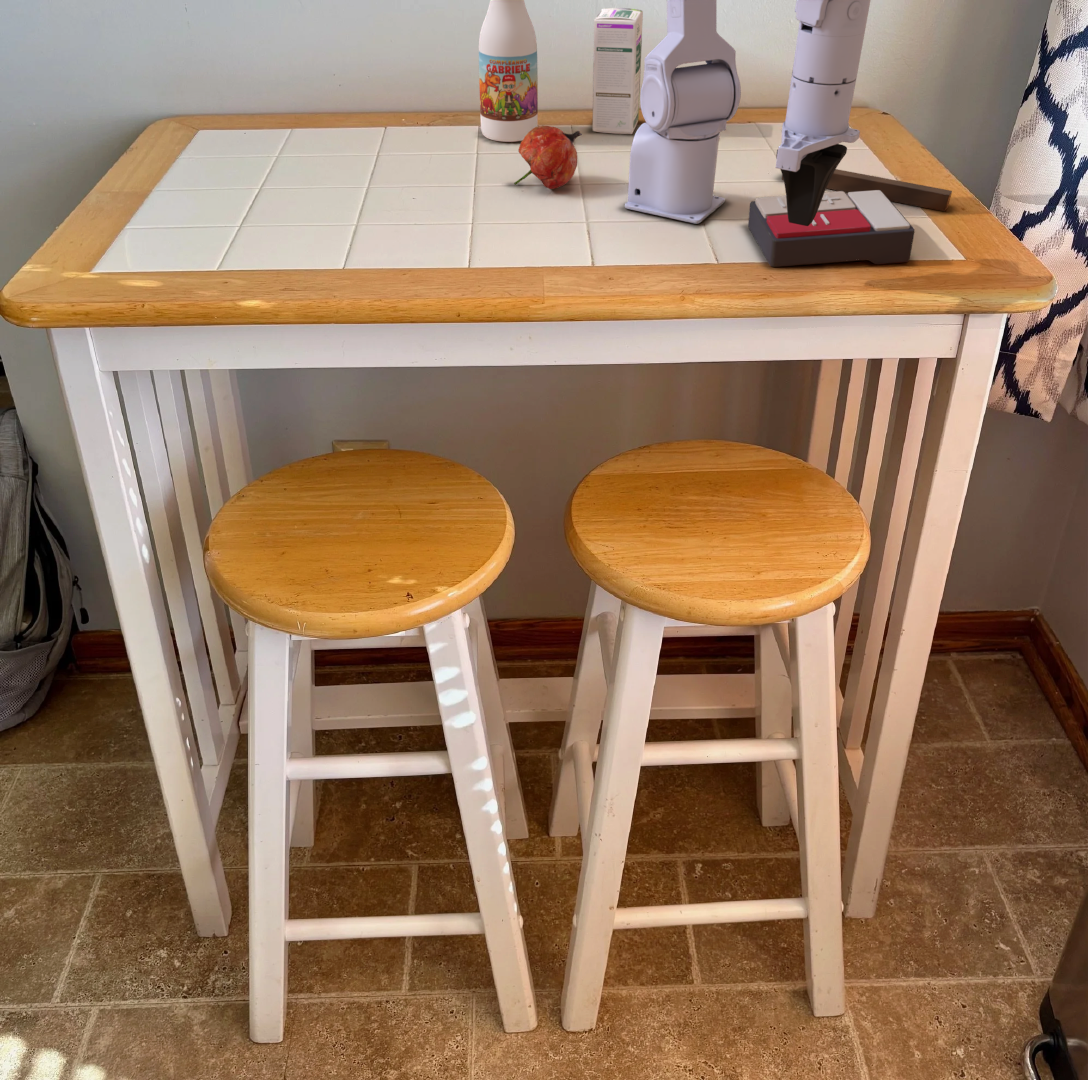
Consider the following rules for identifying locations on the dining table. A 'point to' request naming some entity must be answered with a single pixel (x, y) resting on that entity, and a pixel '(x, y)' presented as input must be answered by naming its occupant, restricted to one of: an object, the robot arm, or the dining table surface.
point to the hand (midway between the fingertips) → (800, 222)
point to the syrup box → (617, 70)
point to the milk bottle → (508, 72)
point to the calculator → (833, 230)
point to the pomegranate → (550, 155)
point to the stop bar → (891, 189)
